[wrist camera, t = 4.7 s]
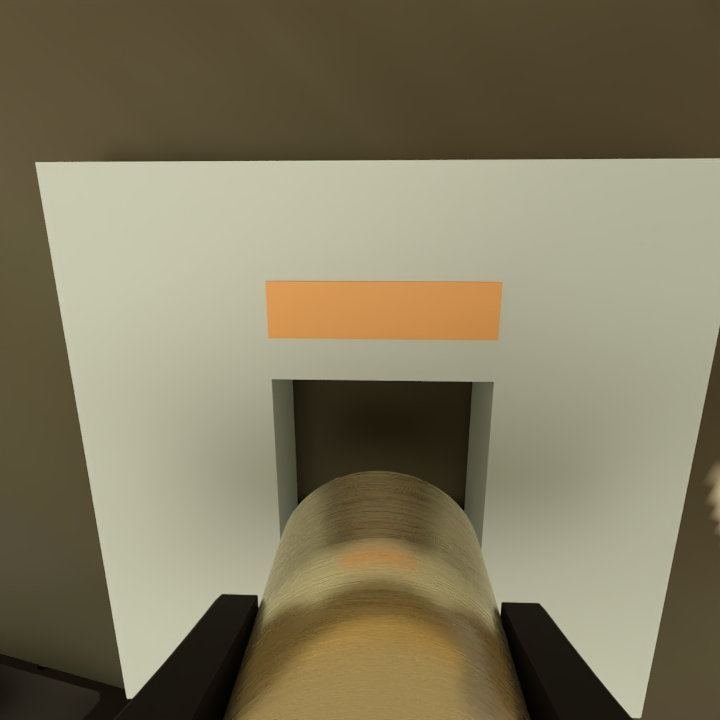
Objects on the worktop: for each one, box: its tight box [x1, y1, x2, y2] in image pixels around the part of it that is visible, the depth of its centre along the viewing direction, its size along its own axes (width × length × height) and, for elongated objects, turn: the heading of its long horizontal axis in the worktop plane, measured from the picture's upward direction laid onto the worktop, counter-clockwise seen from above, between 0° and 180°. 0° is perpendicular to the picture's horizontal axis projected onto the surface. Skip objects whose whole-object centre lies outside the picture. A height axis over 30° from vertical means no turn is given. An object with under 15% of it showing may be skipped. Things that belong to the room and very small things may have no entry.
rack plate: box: [35, 159, 720, 718], centre depth 16 cm, size 16×16×3 cm
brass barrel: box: [223, 471, 531, 720], centre depth 8 cm, size 4×4×6 cm
